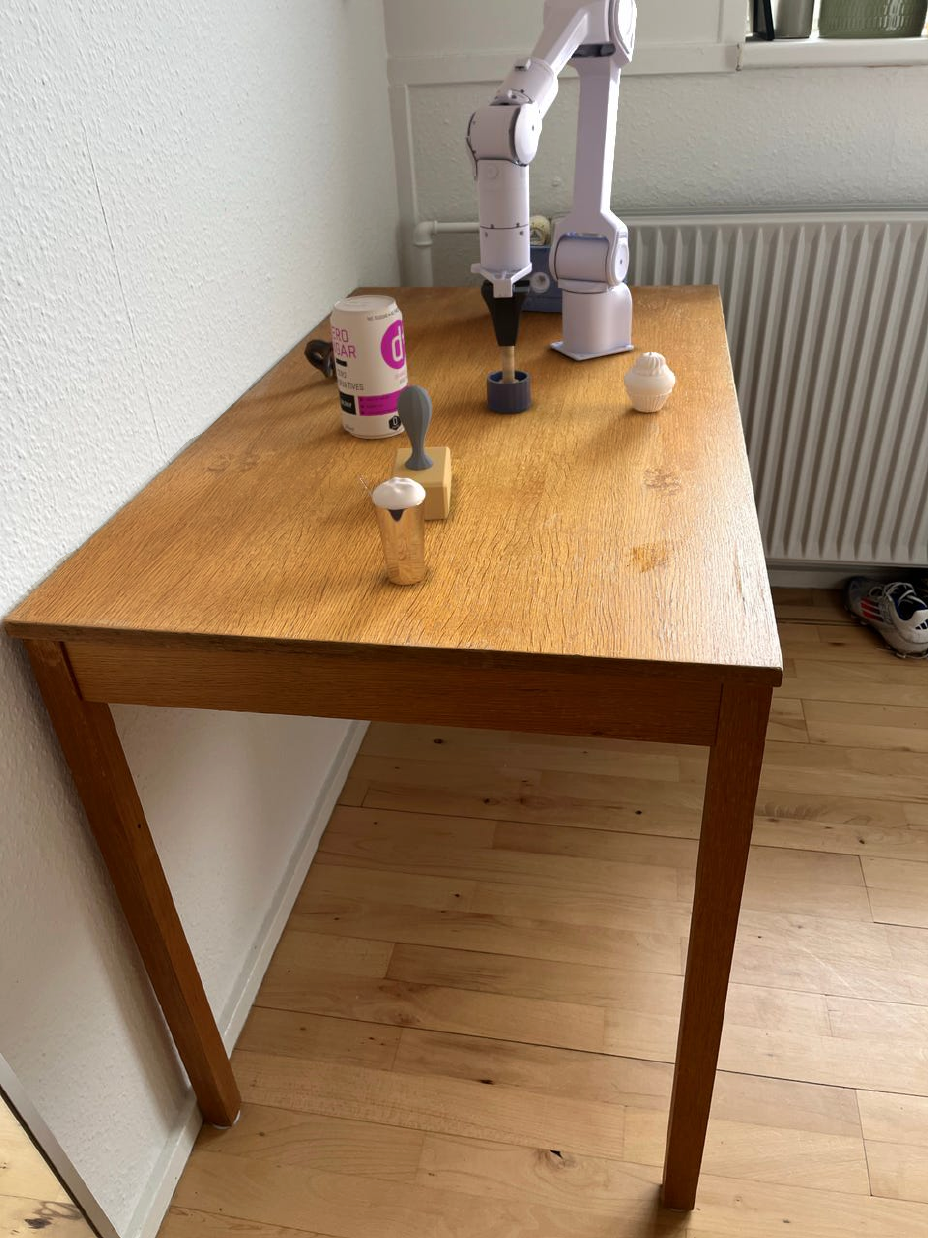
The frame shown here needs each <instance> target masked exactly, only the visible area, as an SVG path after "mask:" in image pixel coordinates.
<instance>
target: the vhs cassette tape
mask: <svg viewBox="0 0 928 1238" xmlns="http://www.w3.org/2000/svg"><path fill="white" fill-rule="evenodd" d="M551 246H552V244H534V243H533V244H531V243H530V262H531V263H532V270H531V272H530V273H528V274H526V275H525V276H529V277H530V285H529V287H530V289H529V293H528V295H527V297H526V300H525V302H524V305H523V308H522V311H521V312H526V311H527V312H543V313H545V312H546V313H562V299H563V288H558V282H557V281H555V280H554V278H553V276H552V274H551V272H550V268H549V255H550V250H551ZM622 283H624V284H625V285H626V286H627V285H628V272H627V273H626V276H625V278H624V279H623V281H622ZM627 287H628V286H627Z"/></svg>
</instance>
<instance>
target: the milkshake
mask: <svg viewBox="0 0 928 1238" xmlns="http://www.w3.org/2000/svg"><path fill="white" fill-rule="evenodd" d="M359 479H360V481H361V483H362V484H363V486H364V488H365V489H366V490H367V492H368V494H369V496H370V497H371V500H372V505H373V509H374V513H375V518H376V522H377V527H378V532H379V537H380V538H379V539H380V543H381V548H382V554H383V559H384V564H385V569H386V573H387V578H388V579H389V581H390V583H392V584H395V585H399V586H408V585H414V584H417V583H418V582H421V581H422V580H423V579H424V577H425V574H426V560H425V559H426V552H425V551H426V550H425V549H426V547H425V545H426V544H425V542H426V541H425V540H426V535H425V531H426V529H425V527H426V525H425V523H426V520H425V491H424V489H423V487H422V486H421V485H420V484H418V483H416V482H414V481H413V480H411V479H409V478H398V477H394V478H392V479H390V478H389V479H388V480H386V481H385V482H381V483H380V484H378V485H377V486H376V488H374V490H373V492H372V493H371V490H370V488H369V487H368V486H367V484H366V482H365V481H364V479H363V478H362V476H361V475H359Z"/></svg>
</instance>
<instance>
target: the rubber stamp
mask: <svg viewBox="0 0 928 1238" xmlns="http://www.w3.org/2000/svg"><path fill="white" fill-rule="evenodd" d="M397 411H398V415H399V418H400V420H401V423H402V425H403V427H404V429H405V430H404V431H405V432H406V435H407V437H408V440H409V443H410V447H400V448H397V450H396V451H395V453H394V457H393V461H392V466H391V471H390V477H389V480H390V479H392V478H394V477H398V478H409V479H411V480H413V481H414V482H416V483H418V484H420V485H421V486H422V487H423V489H424V491H425V521H431V520H432V521H433V520H446V519H447V518H448V516H449V514H450V503H451V489H452V477H453V475H452V460H451V459H452V457H451V449H450V448H449V446H425V442H426V438H427V437H426V436H427V433H428V430H429V426H430V423H431V420H432V416H433V403H432V399H431V397H430V394H429V393H428V391H427V390H426V389H425V388H424V387H422V386H420V385H417V384H411V385H408V387H405V388H404V389H403V390H402V391H401V393H400V394H399V396H398V399H397Z"/></svg>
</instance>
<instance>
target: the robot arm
mask: <svg viewBox="0 0 928 1238" xmlns="http://www.w3.org/2000/svg"><path fill="white" fill-rule="evenodd" d="M636 19H637V7H636V3H635V0H544V2H543V12H542V24H543V28H542V30H541V33H540V35H539V36H538V39H537V41H536V43H535V45H534V48H533V49H532V51H531V54H530V55H529V56H524V57H522V58H521V57H520V58H517V59H516V61H515V62H514V64H513V65H512V66H511V69H510V71H509V72H508V74H507V75H506V77H505V78H504V80H503V81H502V83H501V85H500V86H499V88H498V90H497V91H496V93H495V95H494V96H493V98H492V99H491V101H490V102H489V104H488V105H481V106H480V107H477V109H476V110H475V111H474V112H472V113H471V115H470V116H469V118H468V122H467V125H466V136H465V137H464V144H465V148H466V153H467V157H468V158H469V160H470V165H471V176H472V177H473V180H474V181H475V182H477V199H478V200H477V203H478V204H477V205H478V223H479V225H478V227H479V248H480V249H479V250H480V251H479V252H480V253H479V254H480V262H477V263H472V264H471V265H470V273H471V274H479V275H481V276H483V277H484V278H485V279H484V280H483V282H482V285H481V287H480V294H481V296H482V300H484V302H485V304H486V306H487V309H488V312H489V314H490V316H491V320H492V326H493V331H494V335H495V339H496V343H497V346H498V347H499V348H502V347H504V346H514V347H516V345H517V342H518V338H519V330H520V322H521V316H522V312H523V311H522V308H523V305H524V302H525V300H526V297H527V295H528V293H529V289H530V287H529V285H530V277H529V276H525V275H526V274H528V273H530V272H531V270H532V263H531V262H530V244H531V242H530V238H531V237H530V236H531V235H530V173H529V170H530V168H529V164H530V163H531V162H532V161H533V159H534V158H535V157H536V154H537V149H538V145H539V138H540V134H541V132H542V128H543V125H542V120H543V119H544V118H545V115H546V114H547V112H548V111H549V109H550V107H551V105H552V103H553V102H554V100H555V99H556V96H557V94H558V92H559V90H558V89H559V82H558V78H557V76H558V74H559V73H560V72H561V71H562V69H563V68H564V66H565V65H567V66H568V67H571V68H574V69H575V71H576V72H577V74H578V76H579V94H578V95H579V96H578V113H577V126H576V127H577V128H576V129H577V130H576V145H575V157H574V158H575V159H574V174H573V175H574V177H573V191H572V192H573V193H572V206H571V207H572V209H571V211H570V213H568V214H567V215H566V216H564V217H563V218H562V219H561V220H560V221H559V222H558V223H556V224H555V226H554V230H553V239H552V244H551V245H552V246H551V250H550V255H549V268H550V272H551V274H552V276H553V278H554V280H555V281H557V282H558V288H563V299H562V312H561V314H562V315H561V316H562V318H561V319H562V322H561V324H562V325H561V326H562V329H561V334H562V335H561V341H558V342H552V343H550V348H552V349H553V350H556V351H557V352H560V354H561V353H562V354H564V355H565V356H567V357H570V358H571V359H573V360H575V361H583V360H588V359H593V358H598V357H603V356H608V355H612V354H617V353H622V352H623V353H624V352H627V351H632V350H634V347H635V346H634V345H633V344H632V326H633V325H632V323H633V298H632V294H631V291H630V289H629V287H628V286H626V285H625V284H624V283H622V281H623V279H624V278H625V276H626V273H627V274H628V268H629V263H630V250H629V243H628V242H629V241H628V239H629V232H628V227H627V226H626V225H625V224H624V222H623V221H621V219H620V218H618V217H617V216H616V214H615V213H613V211H611V210H610V206H611V205H610V204H611V192H612V191H611V190H612V176H613V166H614V165H613V164H614V163H613V162H614V151H615V139H616V127H617V125H616V124H617V111H618V102H619V101H618V99H619V88H620V87H619V86H620V77H621V69H622V68H624V67H625V66H627V65H628V64H630V63H631V62H632V57H633V51H634V44H635V33H636V32H635V31H636ZM575 234H593V235H594V234H595V235H602V236H592V235H591V236H589V235H575Z"/></svg>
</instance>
